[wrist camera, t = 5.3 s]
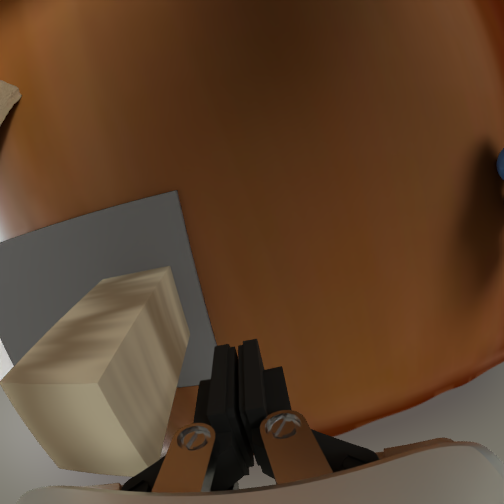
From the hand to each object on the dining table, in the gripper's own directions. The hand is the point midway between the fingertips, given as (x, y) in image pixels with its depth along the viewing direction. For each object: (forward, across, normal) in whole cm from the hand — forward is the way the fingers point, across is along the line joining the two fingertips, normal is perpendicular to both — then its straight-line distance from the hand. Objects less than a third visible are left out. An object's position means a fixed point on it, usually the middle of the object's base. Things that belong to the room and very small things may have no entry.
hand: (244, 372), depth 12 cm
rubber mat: (+9, +13, 0) cm, 16 cm away
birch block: (+9, +7, 0) cm, 11 cm away
